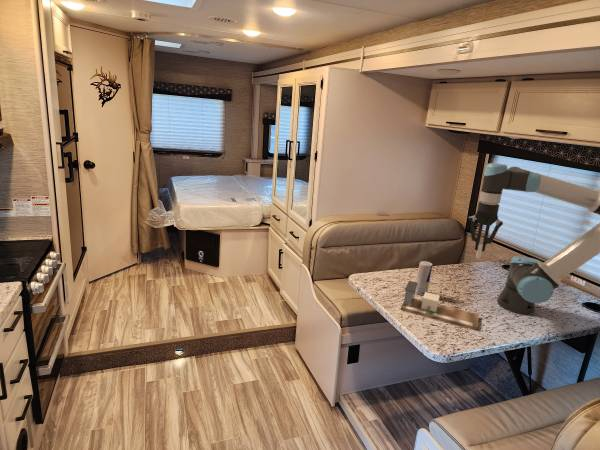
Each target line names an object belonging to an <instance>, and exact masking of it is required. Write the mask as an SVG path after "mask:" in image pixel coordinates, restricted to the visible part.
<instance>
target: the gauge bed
mask: <svg viewBox="0 0 600 450" xmlns="http://www.w3.org/2000/svg"><path fill="white" fill-rule="evenodd" d="M422 301H423V299H418V298H415V297H414V300H413V303H412V305H411V307H409V306H404V305H403V304H404V301H403V302H402V304H401V306H400V311H403V312H407V313H410V314H414V315H418V316H422V317H425V318H430V319H433V320H437V321H440V322H444V323H449V324H452V325H456V326H459V327H463V328H466V329H470V330H475V331H478V329H479V316H480V314H478V313H474V312H469V311H467V310H463V309H462V310H461V309H459V308H458V309H457V308H454V307H451V306H447V305H446V306H445V305H442V304H439V303H438V307H437V310H436V312H432V311H427V310H425V309H421V306H422Z"/></svg>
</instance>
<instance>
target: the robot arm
mask: <svg viewBox="0 0 600 450" xmlns="http://www.w3.org/2000/svg"><path fill="white" fill-rule="evenodd" d="M503 190H507V191H517V192H525V193H535V194H540V195H543V196H546V197H549V198H552V199H555V200H559V201H562V202H565V203H569V204H572V205H575V206H578V207H582V208H585V209H587V210H588V212H590V213H593V214H596V215H598V216H600V188H599V189H597V190H595V189H592V188H589V187H585V186H583V185H579V184H575V183H571V182H569V181H565V180H562V179H558V178H556V177H555V178H554V177H551V176H547V175H544V174H540V173H538V172H534V171H530V170H527V169H524V168H521V167H520V166H519V167H518V166H510V167H508V165H507V164H505V163H496V162H493V163H492V162H490V163H487V164H486V167H485V170H484V174H483V180H482V186H481V190H480V194H479V198H478V200H479V202H478V206H477V210H476V213H475V214H474V215H472V216H470V215H469V216H468V221H469V222H470V223H469V224H470V230H471V232H470V233H471V241H472V242H474V243H475V245H474V250H475V251H476V256H475V259H477V260H481V256H482V252H485V251H486V246H487V244H489V245H490V244H492V242H493V241H494V239H495V236H496V235H497V233H498V231H499V229H500V228H501V227H502V226H503V225H504V222H503V221H502V220H500V218H499V216H498V215H499V214H498V213H499V210H500V203H501V199H502V194H503ZM476 221H477V222H478V224H479V225H478V229H477V233H475V222H476ZM494 223H495V226H494V227H493V230H492V232H491V233H490V232H489V231H490V228H491V226H492V225H493V224H494ZM484 226H485V230H484V233H483V235H484V236H483V241H482V242H481V237H482V231H483V227H484ZM489 233H490V236H489ZM476 234H477V235H476ZM488 237H489V238H488ZM599 254H600V222H599V223H598V224H596V225H595V226H593V227H592V228H590V229H589V230H588V231H586V232H584V233H583V234H582V235H581V236H579V237H577V238H576V239H575V240H573V241H572V242H571V243H569V244H568V245H567V246H565V247H563V249H561V250H559V251H558V252H556V254H554V255H552V256H551V257H550V258H549V259H547V260H545V261H544V262H543V261H541V260H539V259H536V258H533V257H529V256H528V257H527V256H520V255H514V256H513V257H512V258H511V261H510V263H509V269H508V273H507V277H506V281H505V282H506V283H505V286H504V287H503V289H502V290H501V292H500V293H499V295H498V296H497V300H496V302H497V304H498V305H499V306H500V307H502V308H503V309H504V310H506V311H507V310H508V311H509V312H512V313H517V314H521V315H531V313H532V314H534V313H535V312H536V311H535V310H536V306H537V305H536V304H542V303H545V302H547V301H549V300H550V299H551V298H552V297H553V295H554V290H556V289H557V288H558V287H560V286H561V284H562V283H561V282H562V279H564V278H566V276H568V275H570V274H571V273H573V272H575V271H576V270H577V269H579V268H580V267H581V266H583V265H584V264H586V263H587V262H589V261H590V260H592V259H594V258H596V257H597V256H598V255H599ZM533 312H534V313H533Z"/></svg>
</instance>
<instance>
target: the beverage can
mask: <svg viewBox="0 0 600 450" xmlns="http://www.w3.org/2000/svg"><path fill="white" fill-rule="evenodd" d="M432 270H433V263H431V262H430V261H427V260H425V261H424V260H422V261H420V262H419V265H418V272H417V276H416V281H415V282H417V283H418V285H417V287H416V291H415V294H417V295H421V296H424V294H425V292H427V293H429V287H430V281H431V275H432Z"/></svg>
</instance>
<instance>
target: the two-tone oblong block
mask: <svg viewBox="0 0 600 450" xmlns="http://www.w3.org/2000/svg"><path fill="white" fill-rule="evenodd" d="M417 285H418V283H417V282H416V281H412V280H408V282H407V284H406V286H405V288H404V291H405V293H404V299H403V302H404V304H403V303H402V304H403V305H404V306H409V307H411V305H412V303H413V300H414V298H415V296H416V292H415V291H416V287H417Z"/></svg>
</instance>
